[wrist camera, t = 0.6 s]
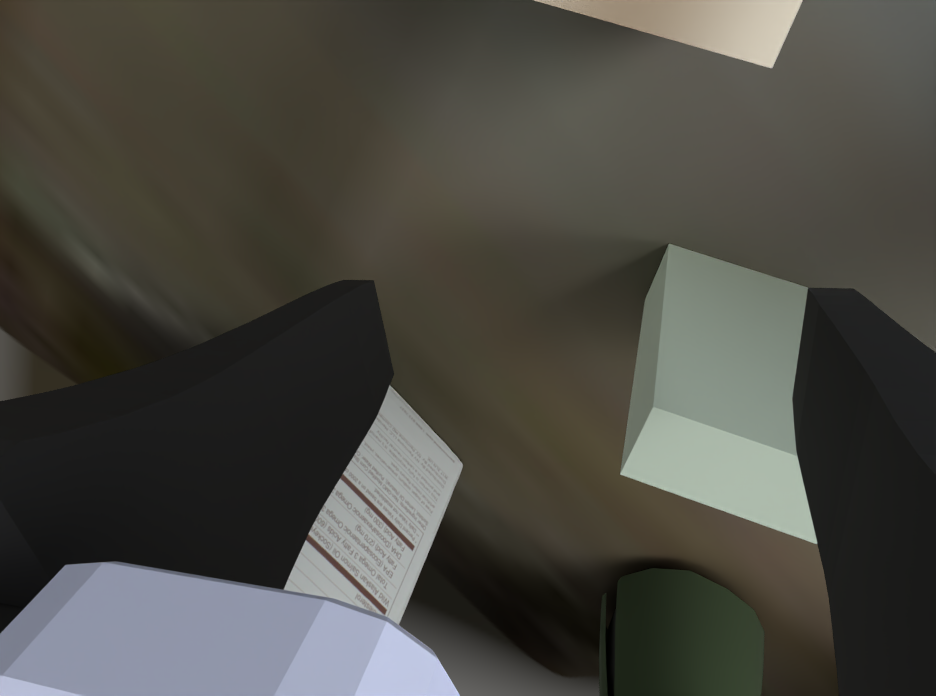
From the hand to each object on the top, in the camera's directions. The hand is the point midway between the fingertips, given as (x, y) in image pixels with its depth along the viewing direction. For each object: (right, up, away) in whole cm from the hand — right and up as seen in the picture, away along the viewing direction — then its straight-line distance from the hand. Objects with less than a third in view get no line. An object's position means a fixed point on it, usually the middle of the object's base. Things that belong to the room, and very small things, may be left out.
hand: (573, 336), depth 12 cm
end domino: (+6, +1, +9) cm, 11 cm away
